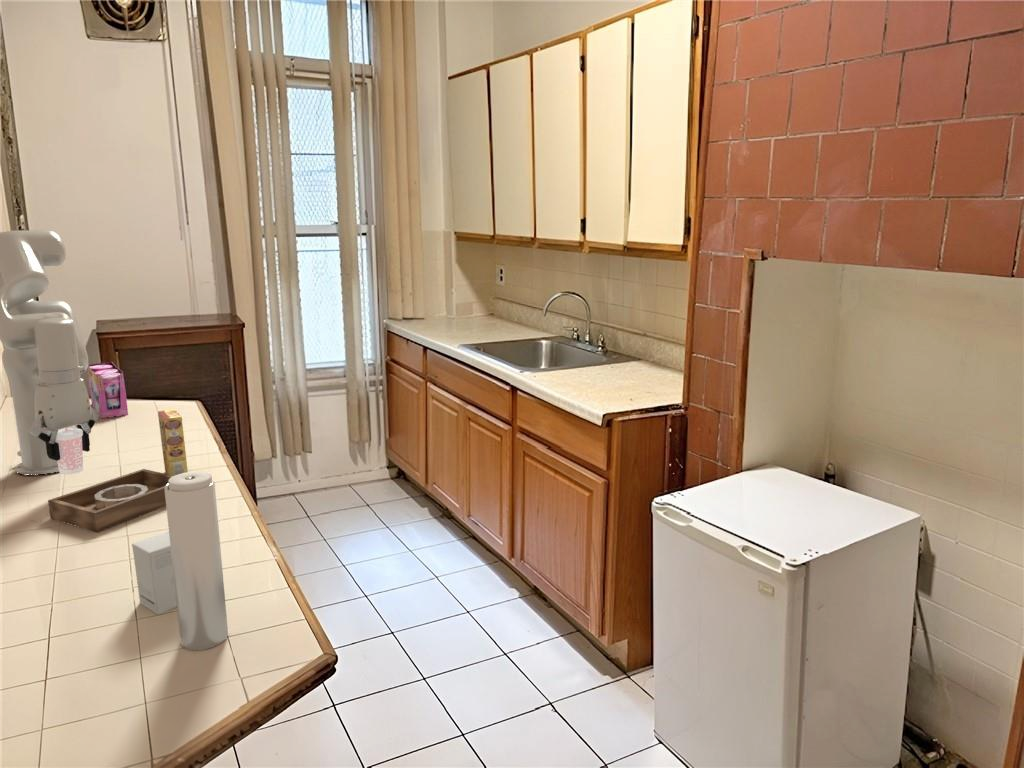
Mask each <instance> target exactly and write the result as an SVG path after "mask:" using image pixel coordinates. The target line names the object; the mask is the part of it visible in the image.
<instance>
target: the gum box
mask: <svg viewBox="0 0 1024 768" xmlns="http://www.w3.org/2000/svg"><path fill="white" fill-rule="evenodd" d="M86 372H87V378H88V387H89V394H90V403H91V405H92V407H93V406H94V407H93V408H94V409H95V410H96V411H98V412H99V413H100V416H99V418H100V419H107V418H106V417H109V418H115V417H114V416H116V417H121V416H122V415H124V416H128V415H129V409H128V402H127V401H128V400H127V393H126V385H125V379H124V372H123V370H121V369H120V368H119V367H118V366H116V364H114V362H113V361H111V362H98V363H91V364H90V363H88V367H87V369H86ZM122 417H123V416H122Z"/></svg>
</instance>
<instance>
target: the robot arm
mask: <svg viewBox="0 0 1024 768" xmlns="http://www.w3.org/2000/svg"><path fill="white" fill-rule="evenodd" d="M66 255H67V254H66V248H65V244H64V242H63V240H62V238H61V237H60V235H59V234H57V232H55V231H53V230H47V229H46V230H45V229H44V230H42V229H41V230H32V229H31V230H27V229H25V230H22V229H21V230H6V231H0V342H1V344H2V345H3V346H4V347H5V348H4V349H3V351H2V352H1V353H2V354H1V359H2V360H1V361H2V365H3V368H4V371H5V373H6V378H7V381H8V384H9V387H10V392H11V396H12V403H13V411H14V415H15V423H16V427H17V436H18V443H19V444H18V445H19V448H20V450H19V451H17V456H18V457H20V458H21V462H20V463H19V464H17V465H16V466H15V468H14V469H15V472H16V471H17V472H18V473H21V474H29V475H31V474H32V475H34V476H38V475H37V474H45V475H48V474H47V473H51V474H55V473H54V472H56V473H60V472H59V467H58V462H57V461H58V460H60V451H59V444H58V443H57V442H55V441H56V437H57V433H58V430H61V429H65V428H67V427H68V428H72V427H75V428H78V429H82V430H83V435H82V450H83V452H90V451H91V449H90V446H91V442H90V434H91V432H92V428H93V427H94V426H95V424H96V421H97V420H98V419H99V418H100V413H99V412H98V411H96V410H95V408H94V407H93V406H91V400H90V398H89V397H90V396H89V393H88V389H87V387H86V383H85V381H84V379H83V378H81V376H82V374H83V373H85V372H87V367H88V364H89V355H88V351H87V348H86V345H85V342H84V339H83V336H82V333H81V330H80V327H79V325H78V324H79V323H78V321H77V318H76V316H75V313H74V310H73V309H72V307H71V305H70V304H68V303H67V302H66V301H62V300H58V299H57V300H56V299H55V300H54V299H53V300H35V298H37V297H39V296H41V295H42V294H44V293H45V291H46V290H47V289H48V286H49V283H50V282H49V277H48V276H47V272H46V271H45V268H44V267H50V266H51V267H58V266H61V265H63V263H64V262H65V260H66ZM18 473H17V474H18ZM35 474H36V475H35Z"/></svg>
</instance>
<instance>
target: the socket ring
mask: <svg viewBox="0 0 1024 768" xmlns="http://www.w3.org/2000/svg"><path fill="white" fill-rule="evenodd" d="M147 492H148V488H147V486H144V485H140V484H126V485H119V486H113V487H110V488H107V489H104V490H101V491H99V492H98V493H97V494H95V495H94V496H95V504H96V509H97V510H100V509H103V508H105V507H108V506H111V505H114V504H117V503H119V502H122V501H125V500H128V499H130V498H133V497H136V496H139V495H141V494H144V493H147ZM124 497H126V498H124ZM118 498H120V499H118Z"/></svg>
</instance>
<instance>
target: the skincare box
mask: <svg viewBox="0 0 1024 768" xmlns="http://www.w3.org/2000/svg"><path fill="white" fill-rule="evenodd" d="M131 546H132V554H133V560H134V567H135V575H136V583H137V584H136V585H137V590H138V591H137V592H138V598H139V604H141V605H143V606H144V607H146V608H147V609H148V610H150V611H151V612H153V613H154V614H156V615H161V614H163V613H165V612H168V611H170V610H172V609H175V608H177V603H176V593H175V584H174V574H173V565H172V555H171V546H170V537H169V531H167V532H164V533H161V534H158V535H155V536H152V537H149V538H146V539H145V538H144V539H143V540H140V541H136V542H133V543H131Z"/></svg>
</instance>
